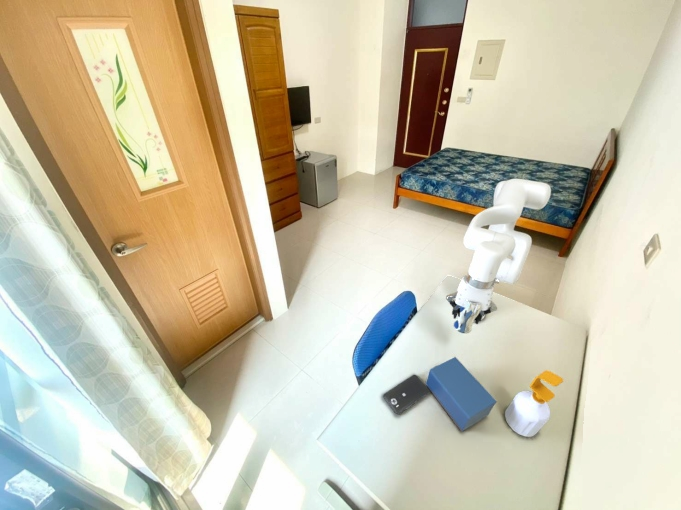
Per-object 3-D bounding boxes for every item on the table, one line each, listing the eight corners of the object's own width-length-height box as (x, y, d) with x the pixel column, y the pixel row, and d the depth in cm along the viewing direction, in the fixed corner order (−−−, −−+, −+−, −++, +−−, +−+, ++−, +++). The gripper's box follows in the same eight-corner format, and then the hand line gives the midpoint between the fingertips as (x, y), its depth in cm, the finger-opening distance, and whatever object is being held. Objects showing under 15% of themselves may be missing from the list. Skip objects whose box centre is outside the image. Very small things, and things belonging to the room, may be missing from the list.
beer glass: (450, 330, 98) (460, 300, 89) (453, 316, 103) (464, 286, 94) (471, 337, 95) (484, 307, 87) (474, 323, 100) (486, 293, 91)
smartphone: (382, 396, 95) (382, 394, 95) (414, 374, 101) (415, 373, 101) (396, 416, 90) (397, 414, 89) (430, 392, 96) (430, 390, 96)
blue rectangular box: (424, 385, 98) (430, 369, 92) (448, 373, 102) (455, 356, 96) (461, 433, 86) (469, 417, 80) (486, 417, 89) (496, 401, 84)
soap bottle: (524, 443, 83) (561, 400, 69) (498, 415, 90) (527, 371, 76) (543, 428, 87) (582, 384, 73) (516, 402, 93) (547, 357, 79)
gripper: (509, 277, 86) (491, 316, 97) (450, 266, 91) (440, 304, 102) (512, 293, 81) (493, 333, 91) (449, 280, 86) (438, 319, 96)
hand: (465, 318), depth 96 cm, fingers closed on beer glass, 6 cm apart
